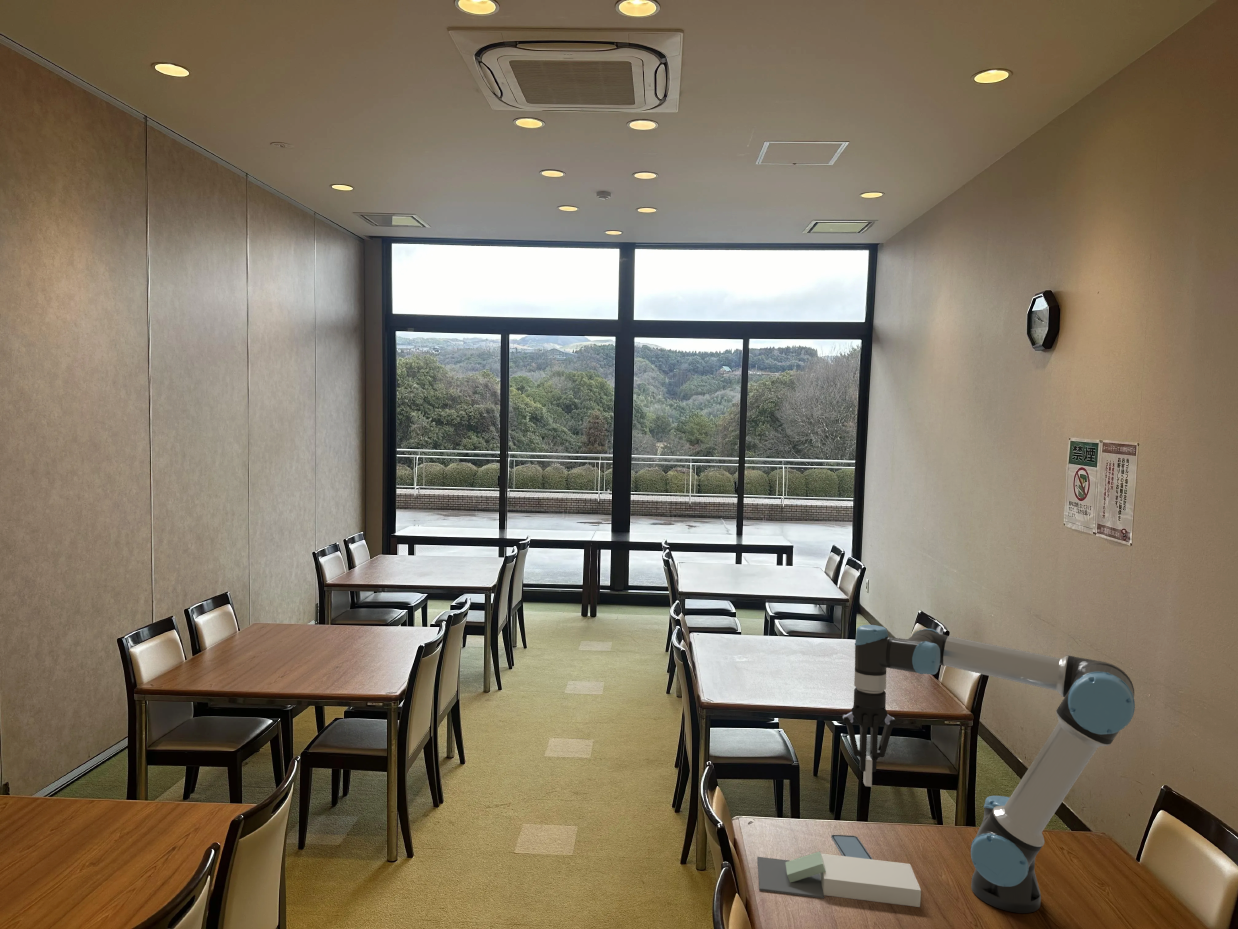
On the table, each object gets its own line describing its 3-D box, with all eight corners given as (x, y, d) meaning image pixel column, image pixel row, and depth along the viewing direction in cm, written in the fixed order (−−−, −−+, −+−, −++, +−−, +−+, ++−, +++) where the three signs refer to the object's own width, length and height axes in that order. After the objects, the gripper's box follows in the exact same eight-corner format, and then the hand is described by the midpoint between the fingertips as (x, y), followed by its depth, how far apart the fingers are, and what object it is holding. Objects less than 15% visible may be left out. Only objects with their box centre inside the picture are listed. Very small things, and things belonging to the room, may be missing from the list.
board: (908, 879, 202) (909, 864, 202) (919, 907, 190) (921, 890, 190) (818, 868, 205) (818, 853, 205) (823, 895, 193) (824, 878, 193)
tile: (823, 858, 201) (819, 851, 201) (825, 871, 195) (822, 863, 195) (788, 869, 203) (785, 862, 203) (790, 882, 197) (787, 875, 197)
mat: (817, 865, 206) (817, 863, 206) (824, 898, 191) (824, 896, 191) (757, 858, 208) (757, 856, 208) (759, 890, 193) (759, 888, 193)
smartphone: (856, 835, 223) (875, 863, 208) (856, 839, 223) (875, 866, 208) (830, 834, 223) (847, 862, 208) (829, 838, 223) (846, 865, 208)
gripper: (893, 686, 204) (890, 779, 204) (840, 683, 205) (837, 776, 206) (900, 694, 197) (898, 792, 197) (845, 692, 198) (843, 788, 198)
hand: (867, 784), depth 201 cm, fingers closed
